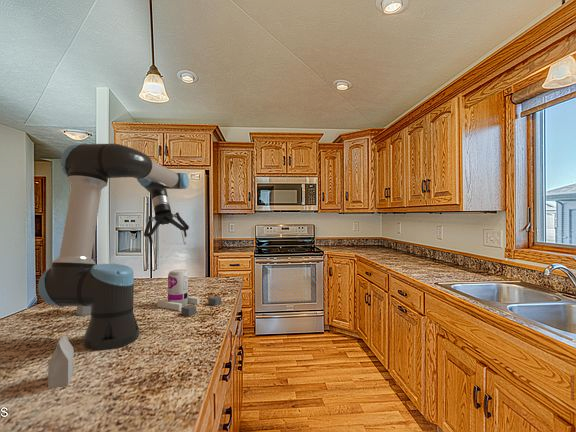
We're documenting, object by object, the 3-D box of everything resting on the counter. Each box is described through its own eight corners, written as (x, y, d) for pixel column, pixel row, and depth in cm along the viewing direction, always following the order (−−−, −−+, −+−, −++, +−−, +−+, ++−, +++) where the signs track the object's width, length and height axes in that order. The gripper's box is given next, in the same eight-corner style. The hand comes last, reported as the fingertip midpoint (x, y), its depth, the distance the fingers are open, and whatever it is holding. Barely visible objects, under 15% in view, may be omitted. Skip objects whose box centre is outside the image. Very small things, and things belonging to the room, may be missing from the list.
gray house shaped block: (73, 372, 77) (73, 332, 77) (68, 385, 70) (68, 342, 71) (55, 375, 75) (55, 334, 75) (48, 389, 69) (48, 345, 69)
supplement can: (174, 308, 130) (175, 273, 130) (164, 305, 135) (164, 271, 135) (191, 304, 137) (191, 270, 137) (180, 301, 142) (180, 268, 142)
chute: (188, 316, 120) (189, 308, 120) (149, 309, 129) (149, 301, 129) (221, 303, 138) (221, 297, 138) (184, 297, 147) (184, 291, 147)
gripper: (187, 206, 160) (196, 244, 153) (134, 213, 149) (141, 254, 142) (188, 199, 154) (197, 238, 147) (133, 206, 143) (140, 248, 136)
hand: (170, 246), depth 144 cm, fingers open, 13 cm apart
